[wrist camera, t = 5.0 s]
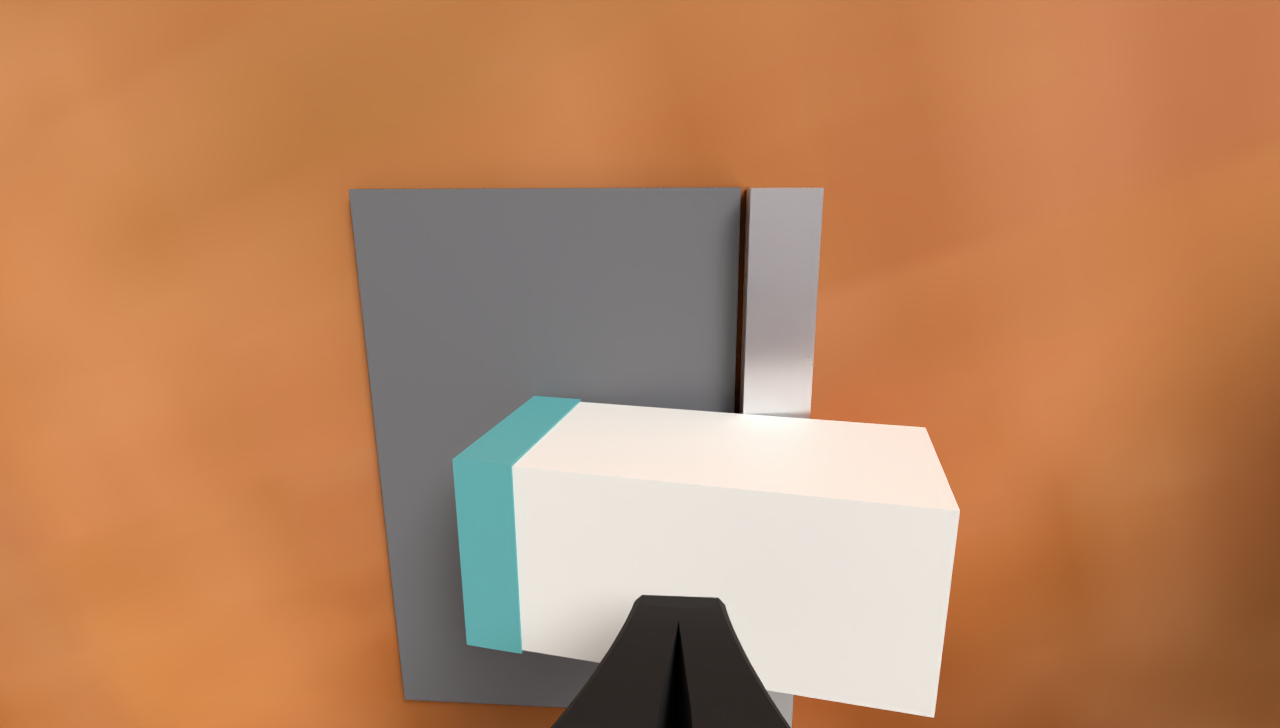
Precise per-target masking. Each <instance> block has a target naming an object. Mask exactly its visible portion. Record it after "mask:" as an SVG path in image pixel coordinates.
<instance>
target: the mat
mask: <svg viewBox="0 0 1280 728" xmlns="http://www.w3.org/2000/svg"><path fill="white" fill-rule="evenodd" d="M349 196H350V205H351V214H352V223H353V232H354V241H355V251H356V260H357V269H358V278H359V287H360V296H361V305H362V315H363V324H364V333H365V342H366V351H367V360H368V369H369V378H370V388H371V397H372V406H373V415H374V424H375V433H376V442H377V451H378V461H379V470H380V479H381V488H382V497H383V506H384V515H385V524H386V534H387V543H388V552H389V561H390V570H391V579H392V588H393V597H394V607H395V616H396V625H397V634H398V643H399V652H400V661H401V670H402V680H403V689H404V698H405V700H422V701H442V702H462V703H482V704H502V705H522V706H542V707H562V708H567V707H568V706H569V705H570V703H571V702H572V701H573V699H574V698H575V697H576V696H577V694H578V693H579V692H580V690H581V689H582V688H583V686H584V685H585V684H586V683H587V681H588V680H589V678H590V677H591V676H592V674H593V673H594V671H595V670H596V668H597V667H598V665H599V664H600V663H598V662H592V661H586V660H580V659H574V658H567V657H561V656H555V655H549V654H543V653H537V652H531V651H525V650H523V652H522V653H521V654H520V653H514V652H508V651H501V650H495V649H489V648H483V647H477V646H471V645H467V640H466V627H465V615H464V602H463V589H462V576H461V563H460V551H459V538H458V525H457V512H456V499H455V487H454V474H453V461H452V459H453V458H455V457H456V456H457V455H458V454H460V453H461V452H462V451H464V450H465V449H466V448H467V447H469V446H470V445H471V444H473V443H474V442H475V441H476V440H478V439H479V438H480V437H482V436H483V435H484V434H485V433H487V432H488V431H489V430H491V429H492V428H493V427H495V426H496V425H497V424H498V423H500V422H501V421H502V420H504V419H505V418H506V417H507V416H509V415H510V414H511V413H513V412H514V411H515V410H516V409H518V408H519V407H520V406H522V405H523V404H524V403H525V402H527V401H528V400H529V399H531V398H532V397H533V396H544V397H558V398H571V399H581V402H590V403H603V404H616V405H630V406H643V407H656V408H670V409H683V410H697V411H710V412H723V413H734V400H735V367H736V334H737V300H738V267H739V234H740V201H741V188H740V187H724V188H519V189H350V190H349Z"/></svg>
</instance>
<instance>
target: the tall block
mask: <svg viewBox="0 0 1280 728" xmlns="http://www.w3.org/2000/svg"><path fill="white" fill-rule="evenodd" d="M452 461H453V474H454V487H455V499H456V512H457V525H458V538H459V551H460V563H461V576H462V589H463V602H464V615H465V627H466V640H467V645H471V646H477V647H483V648H489V649H495V650H501V651H508V652H514V653H520V654H521V653H522V652H523V650H525V651H531V652H537V653H543V654H549V655H555V656H561V657H567V658H574V659H580V660H586V661H592V662H598V663H600V662H601V661H602V659H603V658H604V656H605V654H606V653H607V651H608V650H609V648H610V647H611V645H612V644H613V642H614V640H615V639H616V637H617V635H618V634H619V632H620V630H621V628H622V627H623V625H624V623H625V621H626V619H627V617H628V615H629V613H630V611H631V609H632V606H633V604H634V601H635V600H636V599H638V598H639V597H640V596H641V595H660V596H687V597H714V598H719V599H720V600H721V601H722V602H723V603H724V604H725V606H726V610H727V613H728V616H729V618H730V621H731V623H732V626H733V628H734V631H735V633H736V635H737V637H738V639H739V641H740V643H741V645H742V647H743V649H744V651H745V653H746V655H747V657H748V659H749V661H750V663H751V665H752V666H753V668H754V670H755V671H756V673H757V675H758V677H759V678H760V680H761V682H762V684H763V685H764V687H765V689H766V690H769V691H775V692H781V693H787V694H793V695H799V696H805V697H811V698H817V699H823V700H830V701H836V702H842V703H848V704H854V705H860V706H866V707H872V708H878V709H884V710H891V711H897V712H903V713H909V714H915V715H921V716H927V717H933V718H934V714H935V706H936V698H937V690H938V682H939V674H940V666H941V658H942V650H943V642H944V634H945V626H946V618H947V610H948V602H949V594H950V586H951V578H952V570H953V562H954V554H955V546H956V538H957V530H958V522H959V514H960V510H959V508H958V505H957V503H956V500H955V498H954V496H953V493H952V491H951V488H950V486H949V484H948V481H947V479H946V476H945V474H944V471H943V469H942V467H941V464H940V462H939V459H938V457H937V455H936V452H935V450H934V447H933V445H932V442H931V440H930V438H929V435H928V433H927V430H926V428H924V427H911V426H897V425H884V424H871V423H857V422H844V421H830V420H817V419H804V418H790V417H777V416H763V415H750V414H737V413H723V412H710V411H697V410H683V409H670V408H656V407H643V406H630V405H616V404H603V403H590V402H581V399H571V398H558V397H544V396H533V397H532V398H531V399H529V400H528V401H527V402H525V403H524V404H523V405H522V406H520V407H519V408H518V409H516V410H515V411H514V412H513V413H511V414H510V415H509V416H507V417H506V418H505V419H504V420H502V421H501V422H500V423H498V424H497V425H496V426H495V427H493V428H492V429H491V430H489V431H488V432H487V433H485V434H484V435H483V436H482V437H480V438H479V439H478V440H476V441H475V442H474V443H473V444H471V445H470V446H469V447H467V448H466V449H465V450H464V451H462V452H461V453H460V454H458V455H457V456H456V457H455V458H453V459H452Z"/></svg>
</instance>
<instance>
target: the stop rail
mask: <svg viewBox="0 0 1280 728" xmlns="http://www.w3.org/2000/svg"><path fill="white" fill-rule="evenodd" d="M823 190H824V188H818V187H747V195H746V226H745V257H744V288H743V320H742V351H741V382H740V413H739V414H750V415H763V416H777V417H790V418H804V419H810V408H811V391H812V375H813V358H814V341H815V324H816V307H817V291H818V274H819V257H820V240H821V223H822V207H823ZM767 692H768V694H769V695H770V697H771V699H772V700H773V702H774V703H775V705H776V706H777V708H778V709H779V711H780V712H781V714H782V715H783V717H784V718H785V720H786V721H787V723H788V724H789V726H790V727H792V710H793V694H787V693H781V692H775V691H769V690H767Z"/></svg>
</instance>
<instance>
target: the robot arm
mask: <svg viewBox="0 0 1280 728" xmlns="http://www.w3.org/2000/svg"><path fill="white" fill-rule="evenodd" d="M551 728H791V727H790V726H789V724H788V723H787V721H786V720H785V718H784V717H783V715H782V714H781V712H780V711H779V709H778V708H777V706H776V705H775V703H774V702H773V700H772V699H771V697H770V695H769V694H768V692H767V690H766V689H765V687H764V685H763V684H762V682H761V680H760V678H759V677H758V675H757V673H756V671H755V670H754V668H753V666H752V665H751V663H750V661H749V659H748V657H747V655H746V653H745V651H744V649H743V647H742V645H741V643H740V641H739V639H738V637H737V635H736V633H735V631H734V628H733V626H732V623H731V621H730V618H729V616H728V613H727V610H726V606H725V604H724V603H723V602H722V601H721V600H720V599H719V598H714V597H687V596H660V595H641V596H640V597H639V598H638V599H636V600H635V601H634V604H633V606H632V609H631V611H630V613H629V615H628V617H627V619H626V621H625V623H624V625H623V627H622V628H621V630H620V632H619V634H618V635H617V637H616V639H615V640H614V642H613V644H612V645H611V647H610V648H609V650H608V651H607V653H606V654H605V656H604V658H603V659H602V661H601V662H600V664H599V665H598V667H597V668H596V670H595V671H594V673H593V674H592V676H591V677H590V678H589V680H588V681H587V683H586V684H585V685H584V686H583V688H582V689H581V690H580V692H579V693H578V694H577V696H576V697H575V698H574V699H573V701H572V702H571V703H570V705H569V706H568V707H567V708H566V710H565V711H564V712H563V714H562V715H561V716H560V717H559V719H558V720H557V721H556V722H555V723H554V724H553V726H552V727H551Z"/></svg>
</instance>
